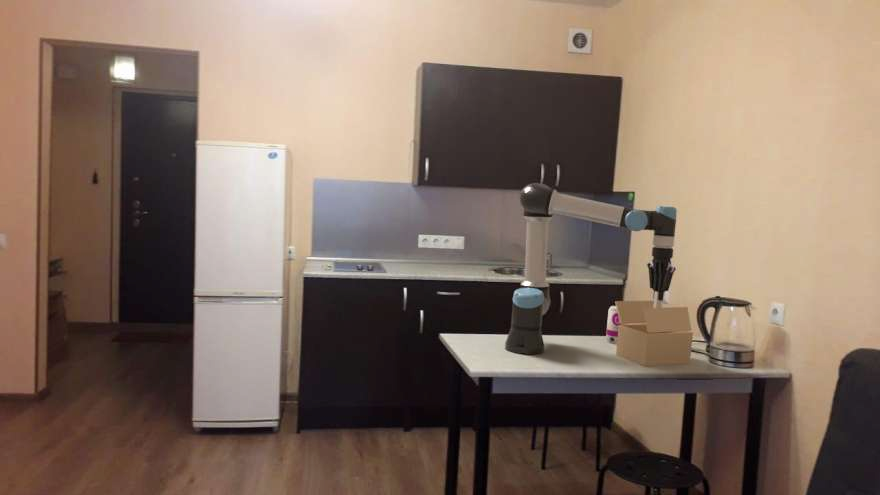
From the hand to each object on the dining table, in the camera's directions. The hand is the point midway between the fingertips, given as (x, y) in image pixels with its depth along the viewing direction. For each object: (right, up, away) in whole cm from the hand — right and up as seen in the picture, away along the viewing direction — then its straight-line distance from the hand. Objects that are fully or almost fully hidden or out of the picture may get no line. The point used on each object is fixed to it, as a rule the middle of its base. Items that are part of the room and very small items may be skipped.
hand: (657, 308), depth 244 cm
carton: (-1, -20, +2) cm, 20 cm away
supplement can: (-8, -17, +28) cm, 34 cm away
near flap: (+2, -4, -5) cm, 7 cm away
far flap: (-4, -2, +9) cm, 10 cm away
